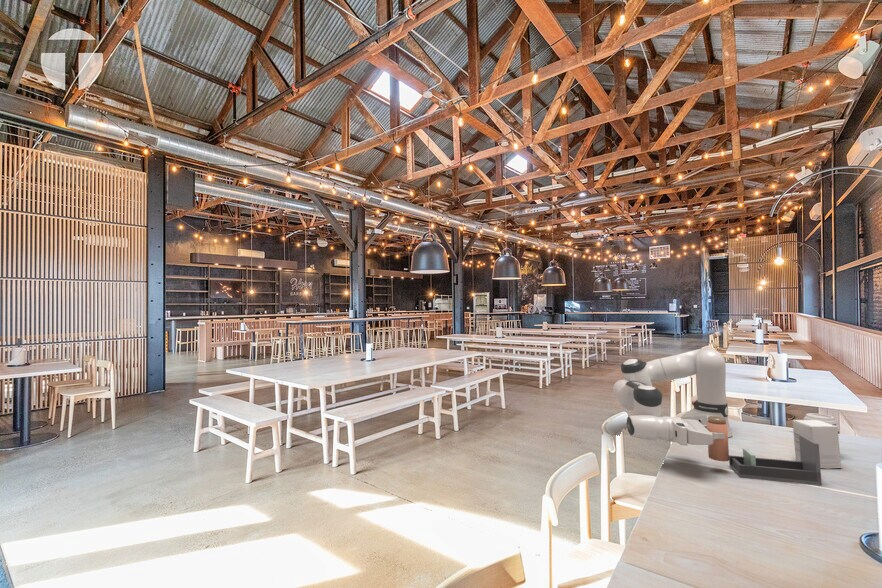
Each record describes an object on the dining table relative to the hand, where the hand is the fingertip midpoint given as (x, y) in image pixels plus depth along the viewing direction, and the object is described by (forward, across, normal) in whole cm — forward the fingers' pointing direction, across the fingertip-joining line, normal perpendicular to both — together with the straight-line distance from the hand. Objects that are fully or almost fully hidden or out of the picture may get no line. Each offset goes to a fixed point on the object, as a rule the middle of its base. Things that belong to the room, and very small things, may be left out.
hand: (720, 432), depth 141 cm
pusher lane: (+15, 0, -13) cm, 20 cm away
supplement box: (+34, -17, -13) cm, 40 cm away
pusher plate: (+8, 0, -12) cm, 14 cm away
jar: (-1, 0, -9) cm, 9 cm away
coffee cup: (+41, -29, -13) cm, 52 cm away
